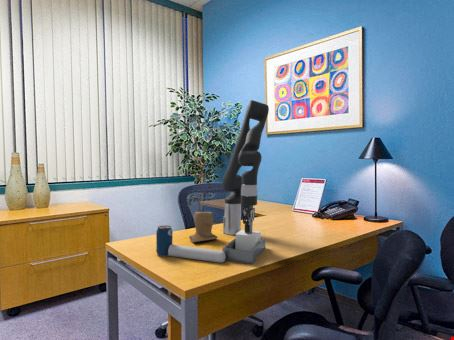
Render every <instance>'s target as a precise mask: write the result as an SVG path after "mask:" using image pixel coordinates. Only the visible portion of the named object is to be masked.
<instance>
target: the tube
mask: <svg viewBox="0 0 454 340" xmlns="http://www.w3.org/2000/svg"><path fill="white" fill-rule="evenodd" d="M168 257H174V258H181V259H182V258H183V259H188V260H189V259H190V260H194V261H195V260H197V261H204V262H211V263H219V264H222V263H224V262H226V261H225V258H226V255H225V253H224V252H223V251H222V250H217V249H216V250H215V249H208V248H203V247H202V248H201V247H193V246H187V245H179V244H178V245H177V244H173V243H172V244H171V245H170V246H169V249H168Z"/></svg>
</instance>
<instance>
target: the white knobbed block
mask: <svg viewBox="0 0 454 340" xmlns="http://www.w3.org/2000/svg"><path fill="white" fill-rule="evenodd" d="M253 222H254V221H253ZM253 222H252V221H250V232H249V233H245V229H241V230H240V231H239V232H238V233H236V235H235V238H234V239H235V249H239V250H247V251H251V250H252V249H253V248H254V247H255V246H256V245H257V244H258V243H259V242H260V241H261V240H262V238H261V237H262V236H261V235H262V231H256V230H253V224H254V223H253Z"/></svg>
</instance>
